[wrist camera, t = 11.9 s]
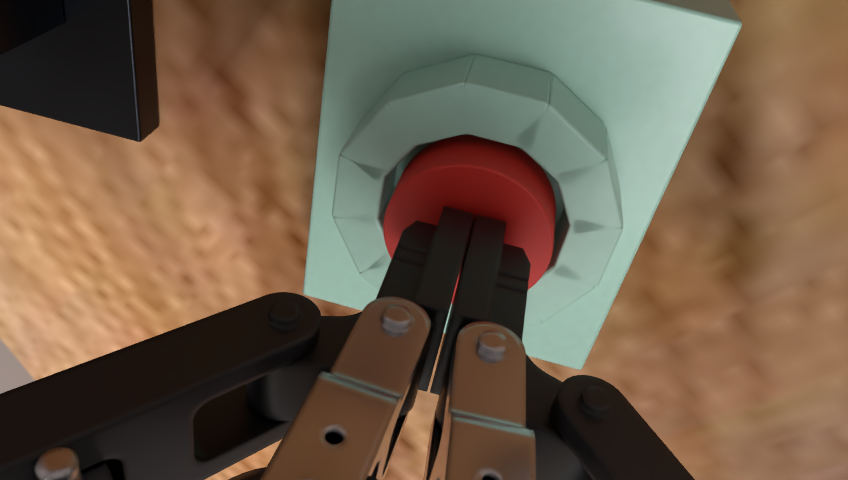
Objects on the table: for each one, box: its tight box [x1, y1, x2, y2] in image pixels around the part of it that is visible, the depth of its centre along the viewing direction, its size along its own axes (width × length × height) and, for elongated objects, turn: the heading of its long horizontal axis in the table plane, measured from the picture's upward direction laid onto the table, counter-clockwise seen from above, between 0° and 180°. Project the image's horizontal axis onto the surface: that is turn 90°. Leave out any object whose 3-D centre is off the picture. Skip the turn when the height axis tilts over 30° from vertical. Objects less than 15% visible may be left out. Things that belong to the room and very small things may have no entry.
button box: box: [303, 0, 742, 370], centre depth 18 cm, size 11×9×4 cm
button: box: [383, 135, 556, 303], centre depth 16 cm, size 4×4×2 cm
